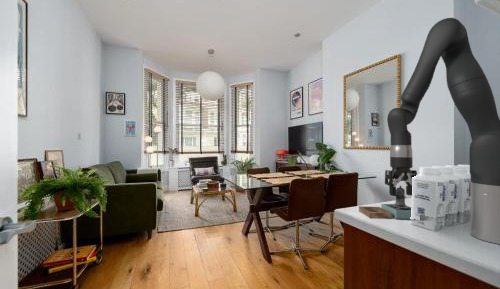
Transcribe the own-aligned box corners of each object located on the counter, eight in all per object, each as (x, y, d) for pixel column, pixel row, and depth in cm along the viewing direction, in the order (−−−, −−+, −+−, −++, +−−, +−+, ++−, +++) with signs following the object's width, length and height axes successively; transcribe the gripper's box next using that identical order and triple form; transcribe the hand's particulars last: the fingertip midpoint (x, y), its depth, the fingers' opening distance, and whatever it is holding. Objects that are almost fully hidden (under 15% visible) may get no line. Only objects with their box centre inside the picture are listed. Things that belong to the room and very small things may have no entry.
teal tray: (403, 212, 90) (403, 204, 90) (420, 220, 81) (421, 211, 81) (381, 212, 90) (381, 203, 90) (396, 219, 81) (396, 210, 81)
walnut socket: (379, 211, 91) (379, 206, 91) (392, 218, 82) (392, 213, 82) (358, 211, 91) (359, 206, 91) (370, 218, 82) (370, 212, 82)
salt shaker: (399, 212, 89) (400, 184, 89) (412, 216, 83) (413, 186, 83) (387, 212, 88) (388, 184, 88) (400, 217, 82) (400, 186, 82)
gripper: (395, 156, 81) (396, 198, 80) (423, 156, 84) (424, 196, 84) (379, 155, 88) (379, 194, 87) (405, 156, 91) (406, 193, 91)
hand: (401, 195), depth 85 cm, fingers open, 8 cm apart
